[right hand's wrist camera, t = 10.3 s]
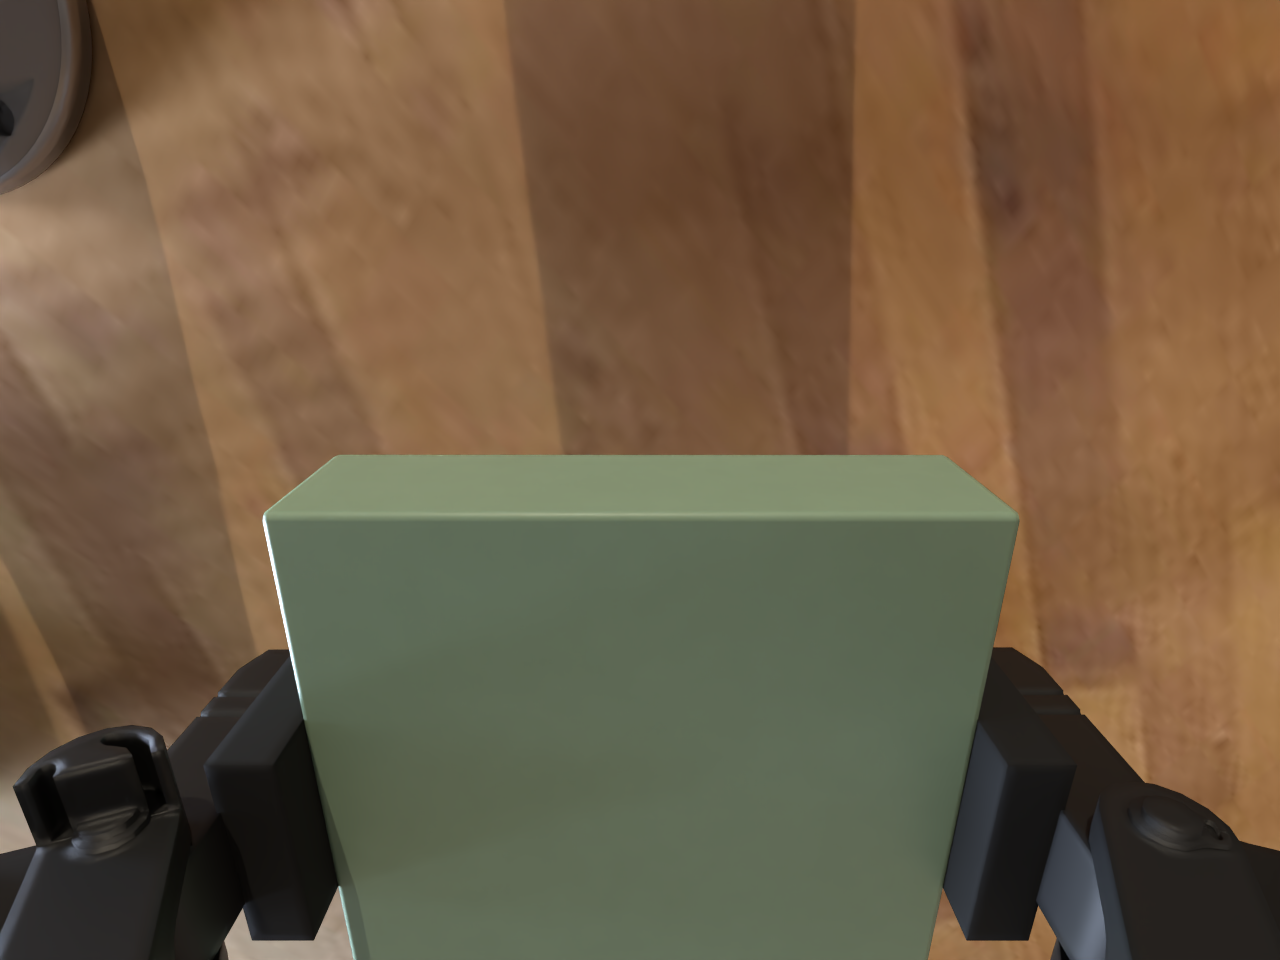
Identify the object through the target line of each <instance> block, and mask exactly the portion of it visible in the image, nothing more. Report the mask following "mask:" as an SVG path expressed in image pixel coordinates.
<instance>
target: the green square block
mask: <svg viewBox="0 0 1280 960" xmlns="http://www.w3.org/2000/svg"><path fill="white" fill-rule="evenodd" d="M263 525H264V530H265V535H266V540H267V544H268V549H269V554H270V559H271V564H272V568H273V573H274V578H275V583H276V588H277V593H278V597H279V602H280V607H281V612H282V617H283V621H284V626H285V631H286V636H287V641H288V646H289V650H290V655H291V660H292V665H293V670H294V675H295V679H296V684H297V689H298V694H299V699H300V703H301V708H302V713H303V718H304V723H305V728H306V732H307V737H308V742H309V747H310V752H311V756H312V761H313V766H314V771H315V776H316V781H317V785H318V790H319V795H320V800H321V805H322V809H323V814H324V819H325V824H326V829H327V834H328V838H329V843H330V848H331V853H332V858H333V862H334V867H335V872H336V877H337V882H338V887H339V891H340V896H341V901H342V906H343V911H344V915H345V920H346V925H347V930H348V935H349V940H350V944H351V949H352V954H353V959H354V960H928V955H929V951H930V946H931V941H932V936H933V931H934V927H935V922H936V917H937V912H938V908H939V903H940V898H941V893H942V888H943V883H944V878H945V873H946V868H947V864H948V859H949V854H950V849H951V844H952V840H953V835H954V830H955V825H956V820H957V816H958V811H959V806H960V801H961V797H962V792H963V787H964V782H965V777H966V773H967V768H968V763H969V758H970V753H971V749H972V744H973V739H974V734H975V730H976V725H977V720H978V717H979V712H980V707H981V702H982V697H983V693H984V688H985V683H986V678H987V674H988V669H989V664H990V659H991V655H992V650H993V645H994V640H995V635H996V631H997V626H998V621H999V616H1000V612H1001V607H1002V602H1003V597H1004V592H1005V588H1006V583H1007V578H1008V573H1009V569H1010V564H1011V559H1012V554H1013V549H1014V545H1015V540H1016V535H1017V530H1018V526H1019V516H1018V513H1017V512H1016V511H1015V510H1013V509H1012V508H1011V507H1010V506H1008V505H1007V504H1006V503H1005V502H1003V501H1002V500H1001V499H1000V498H998V497H997V496H996V495H994V494H993V493H992V492H991V491H989V490H988V489H987V488H986V487H984V486H983V485H982V484H981V483H979V482H978V481H977V480H976V479H974V478H973V477H972V476H971V475H969V474H968V473H967V472H965V471H964V470H963V469H962V468H960V467H959V466H958V465H957V464H955V463H954V462H953V461H952V460H950V459H949V458H948V457H946V456H943V455H338V456H335V457H334V458H332V459H331V460H330V461H329V462H327V463H326V464H325V465H324V466H322V467H321V468H320V469H319V470H317V471H316V472H315V473H313V474H312V475H311V476H310V477H308V478H307V479H306V480H305V481H303V482H302V483H301V484H300V485H298V486H297V487H296V488H295V489H293V490H292V491H291V492H290V493H288V494H287V495H286V496H285V497H283V498H282V499H281V500H280V501H278V502H277V503H276V504H275V505H273V506H272V507H271V508H269V509H268V510H267V511H266V512H265V513H264V515H263Z"/></svg>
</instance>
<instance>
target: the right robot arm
mask: <svg viewBox="0 0 1280 960" xmlns="http://www.w3.org/2000/svg"><path fill="white" fill-rule="evenodd" d="M91 67H92V37H91V28H90V19H89V13H88V8H87V3H86V0H0V194H3V193H7V192H10V191H12V190H14V189H16V188H19V187H21V186H23V185H25V184H26V183H28V182H30V181H31V180H33V179H35V178H36V177H38V176H39V175H40V174H41V173H42V172H44V171H45V170H46V169H47V168H49V166H50V165H51V164H52V163H53V162H54V161H55V160H56V159H57V158H58V157H59V156H60V154H61V153H62V152H63V150H64V149H65V148H66V146H67V145H68V143H69V142H70V140H71V138H72V136H73V134H74V133H75V131H76V129H77V126H78V124H79V121H80V119H81V116H82V114H83V111H84V107H85V104H86V100H87V97H88V91H89V85H90V79H91ZM13 789H14V791H15V793H16V796H17V798H18V801H19V803H20V806H21V808H22V811H23V813H24V816H25V818H26V821H27V823H28V825H29V828H30V830H31V833H32V835H33V838H34V840H35V843H36V846H32V847H28V848H24V849H20V850H15V851H11V852H7V853H3V854H0V960H228V954H227V949H226V946H225V943H224V940H225V938H226V936H227V934H228V933H229V931H230V929H231V927H232V926H233V924H234V922H235V920H236V919H237V917H238V915H239V913H240V912H241V910H242V908H243V909H244V913H245V917H246V920H247V924H248V927H249V931H250V935H251V938H252V940H314V939H315V937H316V934H317V932H318V930H319V928H320V925H321V923H322V921H323V919H324V917H325V914H326V912H327V910H328V908H329V905H330V903H331V901H332V899H333V896H334V894H335V892H336V890H337V887H338V882H337V877H336V872H335V867H334V862H333V858H332V853H331V848H330V843H329V838H328V834H327V829H326V824H325V819H324V814H323V809H322V805H321V800H320V795H319V790H318V785H317V781H316V776H315V771H314V766H313V761H312V756H311V752H310V747H309V742H308V737H307V732H306V728H305V723H304V718H303V713H302V708H301V703H300V699H299V694H298V689H297V684H296V679H295V675H294V670H293V665H292V660H291V655H290V650H268V651H266V652H265V653H263V654H261V655H260V656H258V657H257V658H255V659H254V660H252V661H251V662H249V663H248V664H246V665H245V666H243V667H242V668H240V669H238V671H237V672H236V673H235V674H234V675H233V676H232V677H231V679H230V680H229V681H228V682H227V683H226V684H225V685H224V686H223V688H222V689H221V690H220V691H219V692H218V697H214V698H213V699H212V700H211V701H210V702H209V704H208V705H207V706H206V707H205V708H204V709H203V710H202V712H201V716H200V717H196V718H195V719H194V721H193V722H192V723H191V724H190V725H189V726H188V727H187V729H186V730H185V731H184V732H183V733H182V734H181V735H180V737H179V738H178V739H177V740H176V741H175V742H174V743H173V745H172V746H171V747H170V748H169V749H168V750H167V749H166V746H165V742H164V739H163V736H162V735H160V734H159V733H158V732H156V731H155V730H154V729H152V728H149V727H142V726H134V725H129V726H121V727H114V728H106V729H103V730H100V731H97V732H94V733H91V734H87V735H84V736H81V737H78V738H76V739H74V740H72V741H70V742H68V743H66V744H64V745H62V746H60V747H58V748H56V749H54V750H52V751H50V752H49V753H48V754H46V755H45V756H44V757H42V758H41V759H40V760H38V761H37V762H36V763H34V764H33V765H32V766H30V767H29V768H27V770H26V771H25V772H24V773H23V775H22V776H21V777H20V778H19V780H18V781H17V782H16V783H15V785H14V786H13ZM943 889H944V891H945V893H946V895H947V898H948V900H949V902H950V904H951V907H952V909H953V911H954V913H955V916H956V918H957V920H958V922H959V924H960V927H961V929H962V931H963V933H964V936H965V938H966V940H1006V941H1028V940H1029V936H1030V933H1031V929H1032V926H1033V922H1034V918H1035V915H1036V911H1037V908H1038V905H1039V907H1040V909H1041V911H1042V912H1043V914H1044V916H1045V918H1046V919H1047V921H1048V923H1049V925H1050V926H1051V928H1052V930H1053V932H1054V933H1055V935H1056V937H1057V939H1056V943H1055V946H1054V949H1053V953H1052V956H1051V959H1050V960H1280V851H1278V850H1274V849H1269V848H1265V847H1261V846H1257V845H1253V844H1248V843H1245V842H1242V841H1239V840H1238V839H1237V837H1236V836H1235V834H1234V833H1233V831H1232V830H1231V828H1230V827H1229V826H1228V825H1227V824H1225V823H1224V822H1223V821H1222V820H1221V819H1219V818H1218V817H1217V816H1216V815H1215V814H1214V813H1212V812H1211V811H1210V810H1209V809H1207V808H1206V807H1204V806H1202V805H1200V804H1199V803H1197V802H1195V801H1193V800H1192V799H1190V798H1188V797H1186V796H1185V795H1183V794H1181V793H1178V792H1175V791H1172V790H1169V789H1167V788H1164V787H1161V786H1158V785H1155V784H1149V783H1145V782H1144V781H1143V780H1142V779H1141V778H1140V777H1139V776H1138V774H1137V773H1136V772H1135V771H1134V770H1133V769H1132V768H1131V767H1130V765H1129V764H1128V763H1127V762H1126V761H1125V760H1124V759H1123V758H1122V756H1121V755H1120V754H1119V753H1118V752H1117V751H1116V750H1115V748H1114V747H1113V746H1112V745H1111V744H1110V743H1109V742H1108V741H1107V739H1106V738H1105V737H1104V736H1103V735H1102V734H1101V733H1100V732H1099V730H1098V729H1097V728H1096V727H1095V726H1094V725H1093V724H1092V722H1091V721H1090V720H1089V719H1088V718H1087V717H1086V716H1085V715H1081V713H1080V709H1079V708H1078V707H1077V706H1076V704H1075V703H1074V702H1073V701H1072V700H1071V699H1070V698H1069V696H1068V695H1064V694H1063V690H1062V689H1061V687H1060V686H1059V685H1058V684H1057V683H1056V682H1055V681H1054V680H1053V678H1052V677H1051V676H1050V675H1049V674H1048V673H1047V672H1046V670H1045V669H1044V668H1043V667H1041V666H1040V665H1038V664H1037V663H1035V662H1034V661H1032V660H1031V659H1029V658H1028V657H1026V656H1024V655H1023V654H1021V653H1020V652H1018V651H1017V650H1015V649H1014V648H993V650H992V655H991V659H990V664H989V669H988V674H987V678H986V683H985V688H984V693H983V697H982V702H981V707H980V712H979V717H978V720H977V725H976V730H975V734H974V739H973V744H972V749H971V753H970V758H969V763H968V768H967V773H966V777H965V782H964V787H963V792H962V797H961V801H960V806H959V811H958V816H957V820H956V825H955V830H954V835H953V840H952V844H951V849H950V854H949V859H948V864H947V868H946V873H945V878H944V883H943Z"/></svg>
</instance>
